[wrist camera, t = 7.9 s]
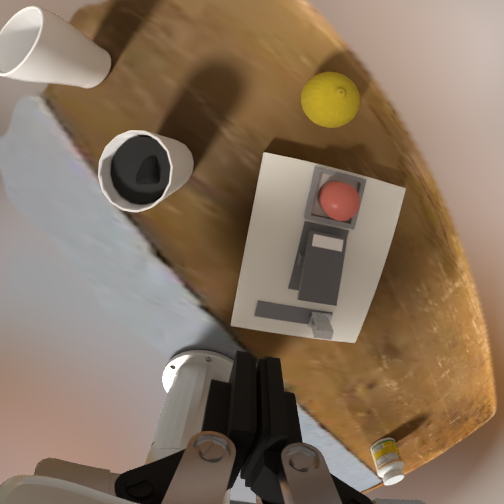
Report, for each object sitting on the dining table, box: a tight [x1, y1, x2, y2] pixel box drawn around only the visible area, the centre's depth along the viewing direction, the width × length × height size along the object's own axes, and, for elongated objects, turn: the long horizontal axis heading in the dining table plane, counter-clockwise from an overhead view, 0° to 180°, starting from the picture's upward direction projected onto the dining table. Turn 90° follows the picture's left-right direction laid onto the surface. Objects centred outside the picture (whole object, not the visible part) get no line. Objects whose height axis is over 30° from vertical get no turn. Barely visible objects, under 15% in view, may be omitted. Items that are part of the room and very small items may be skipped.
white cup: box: [98, 130, 194, 212], centre depth 27 cm, size 7×7×10 cm
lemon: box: [301, 72, 360, 128], centre depth 25 cm, size 6×6×8 cm
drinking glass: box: [0, 6, 111, 88], centre depth 20 cm, size 7×7×15 cm
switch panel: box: [231, 152, 406, 343], centre depth 33 cm, size 20×16×4 cm
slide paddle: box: [307, 311, 334, 340], centre depth 33 cm, size 2×2×3 cm
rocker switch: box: [297, 230, 347, 306], centre depth 30 cm, size 7×4×1 cm, turn 169°
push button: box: [318, 180, 360, 221], centre depth 29 cm, size 4×4×3 cm
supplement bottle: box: [370, 437, 404, 485], centre depth 42 cm, size 5×5×10 cm
